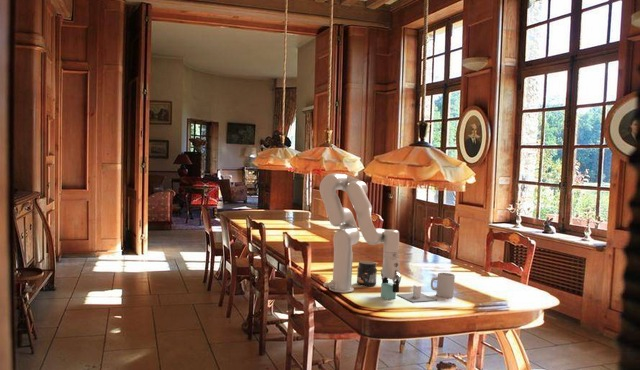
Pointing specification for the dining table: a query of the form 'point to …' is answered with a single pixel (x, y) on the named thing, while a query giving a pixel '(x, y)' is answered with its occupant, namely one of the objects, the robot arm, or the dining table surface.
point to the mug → (444, 285)
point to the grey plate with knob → (416, 295)
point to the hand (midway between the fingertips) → (390, 289)
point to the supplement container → (366, 273)
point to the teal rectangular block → (387, 291)
